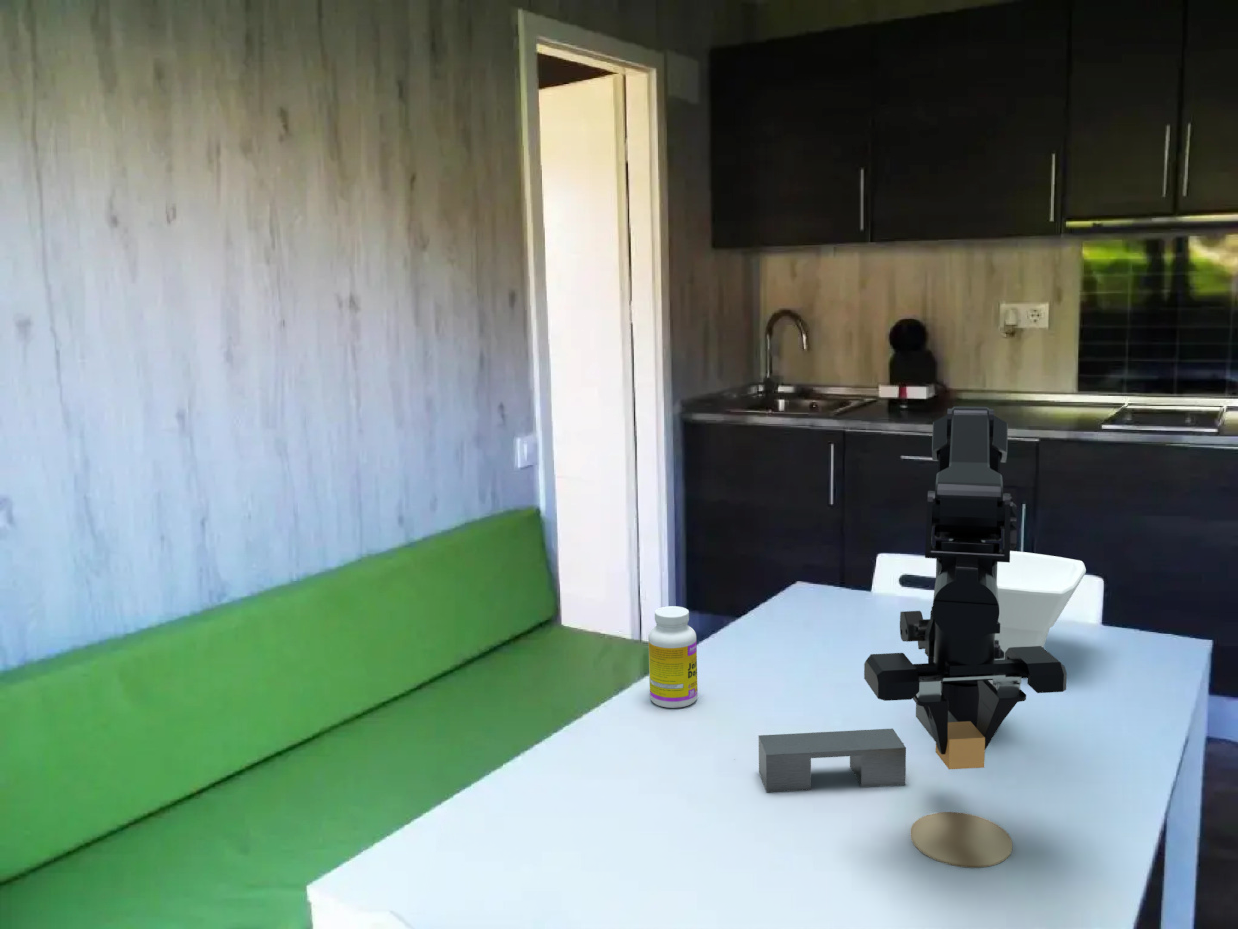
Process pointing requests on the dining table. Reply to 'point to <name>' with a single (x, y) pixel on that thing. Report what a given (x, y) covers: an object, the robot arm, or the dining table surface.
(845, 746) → the grey notched block
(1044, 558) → the bowl
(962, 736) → the tan block with bar
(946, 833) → the coaster
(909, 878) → the dining table surface
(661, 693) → the supplement bottle
